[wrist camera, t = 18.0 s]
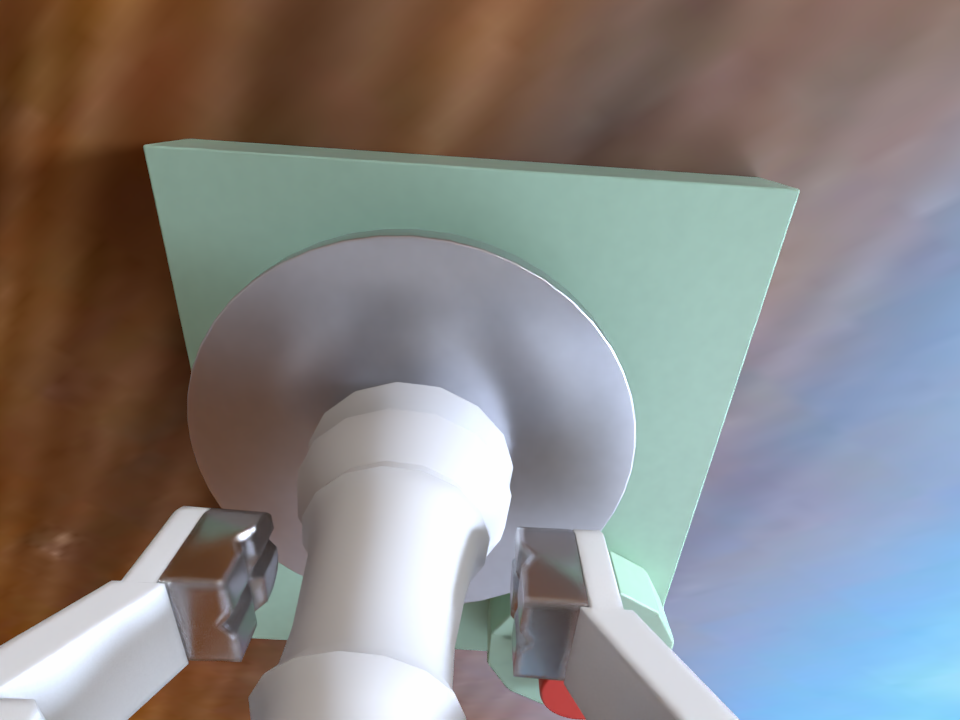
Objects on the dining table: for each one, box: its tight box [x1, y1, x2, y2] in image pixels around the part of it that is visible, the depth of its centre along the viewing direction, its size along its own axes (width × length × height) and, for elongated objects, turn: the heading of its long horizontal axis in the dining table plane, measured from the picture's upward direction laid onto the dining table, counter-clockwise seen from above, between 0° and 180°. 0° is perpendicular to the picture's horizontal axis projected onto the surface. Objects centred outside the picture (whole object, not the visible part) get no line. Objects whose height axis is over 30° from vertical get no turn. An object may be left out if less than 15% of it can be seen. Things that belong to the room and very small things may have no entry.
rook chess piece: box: [248, 382, 513, 720], centre depth 8 cm, size 4×4×8 cm
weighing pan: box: [187, 229, 636, 603], centre depth 12 cm, size 10×10×1 cm
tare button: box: [539, 679, 586, 719], centre depth 15 cm, size 3×3×2 cm
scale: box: [143, 139, 800, 704], centre depth 15 cm, size 16×14×4 cm
